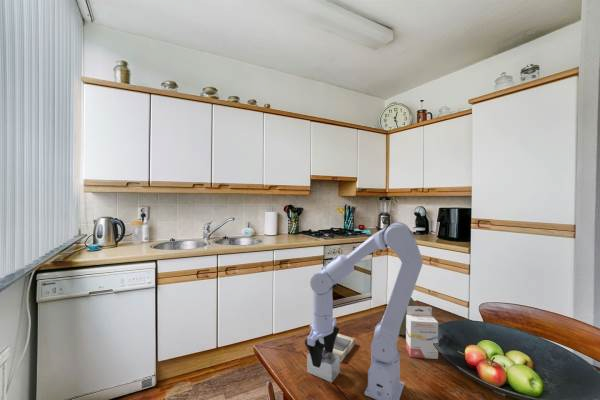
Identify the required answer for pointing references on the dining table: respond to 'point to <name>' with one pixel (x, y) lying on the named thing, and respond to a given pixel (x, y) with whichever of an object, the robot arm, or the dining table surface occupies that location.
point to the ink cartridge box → (421, 332)
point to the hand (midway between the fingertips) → (322, 358)
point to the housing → (325, 366)
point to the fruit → (403, 325)
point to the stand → (341, 345)
